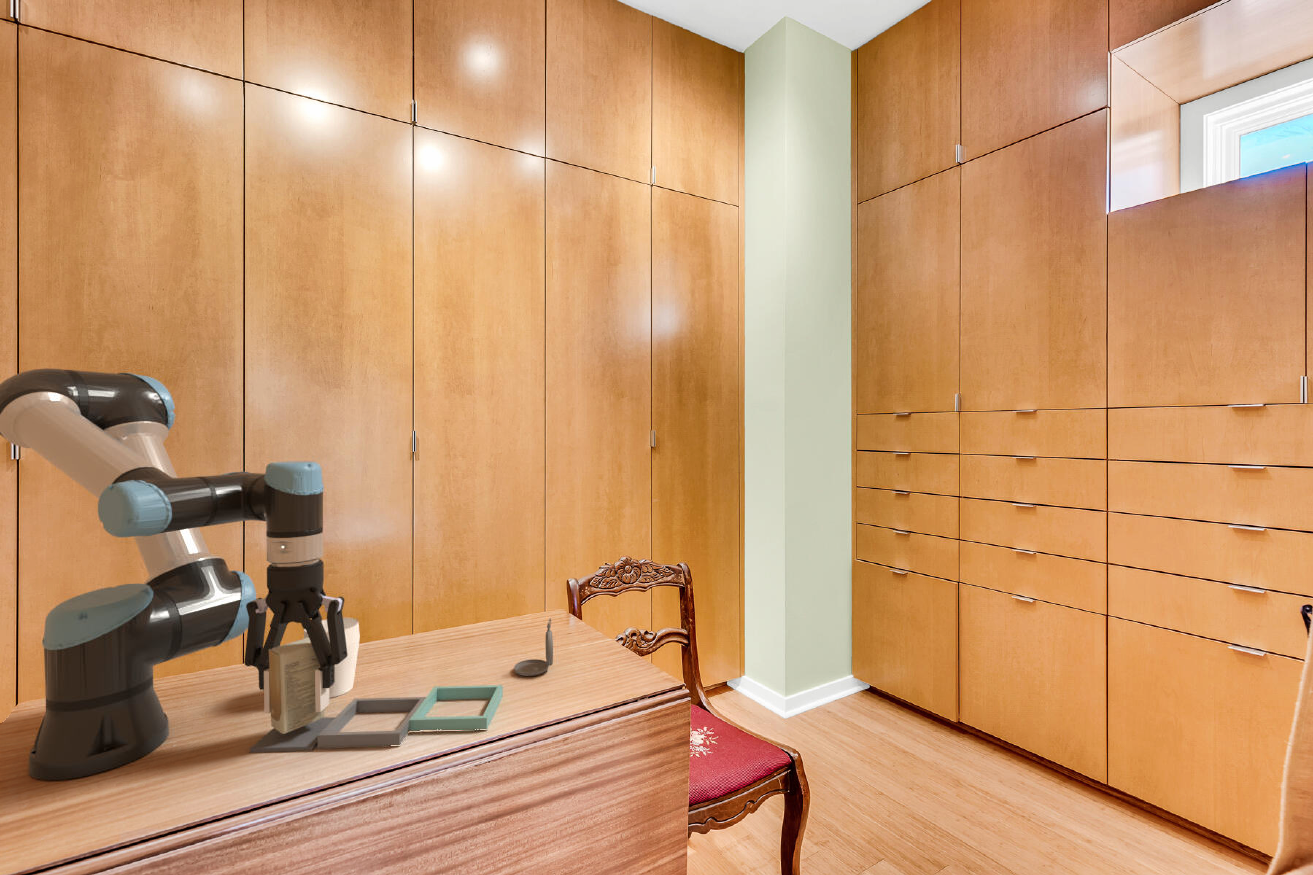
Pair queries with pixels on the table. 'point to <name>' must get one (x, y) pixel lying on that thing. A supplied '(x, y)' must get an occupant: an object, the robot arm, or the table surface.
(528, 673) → the pocket watch
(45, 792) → the table surface
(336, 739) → the grey frame
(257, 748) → the slate mat
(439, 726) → the teal frame
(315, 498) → the robot arm
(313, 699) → the skincare box
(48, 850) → the table surface
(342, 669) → the cup
